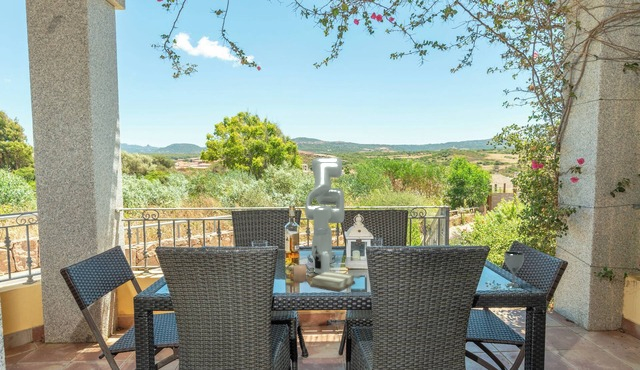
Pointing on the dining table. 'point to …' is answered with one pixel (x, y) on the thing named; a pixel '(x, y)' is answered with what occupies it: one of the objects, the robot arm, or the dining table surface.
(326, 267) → the grey rounded block
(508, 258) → the wine glass
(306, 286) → the dining table surface
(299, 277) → the tan short cylinder
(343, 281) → the beige ridged block
